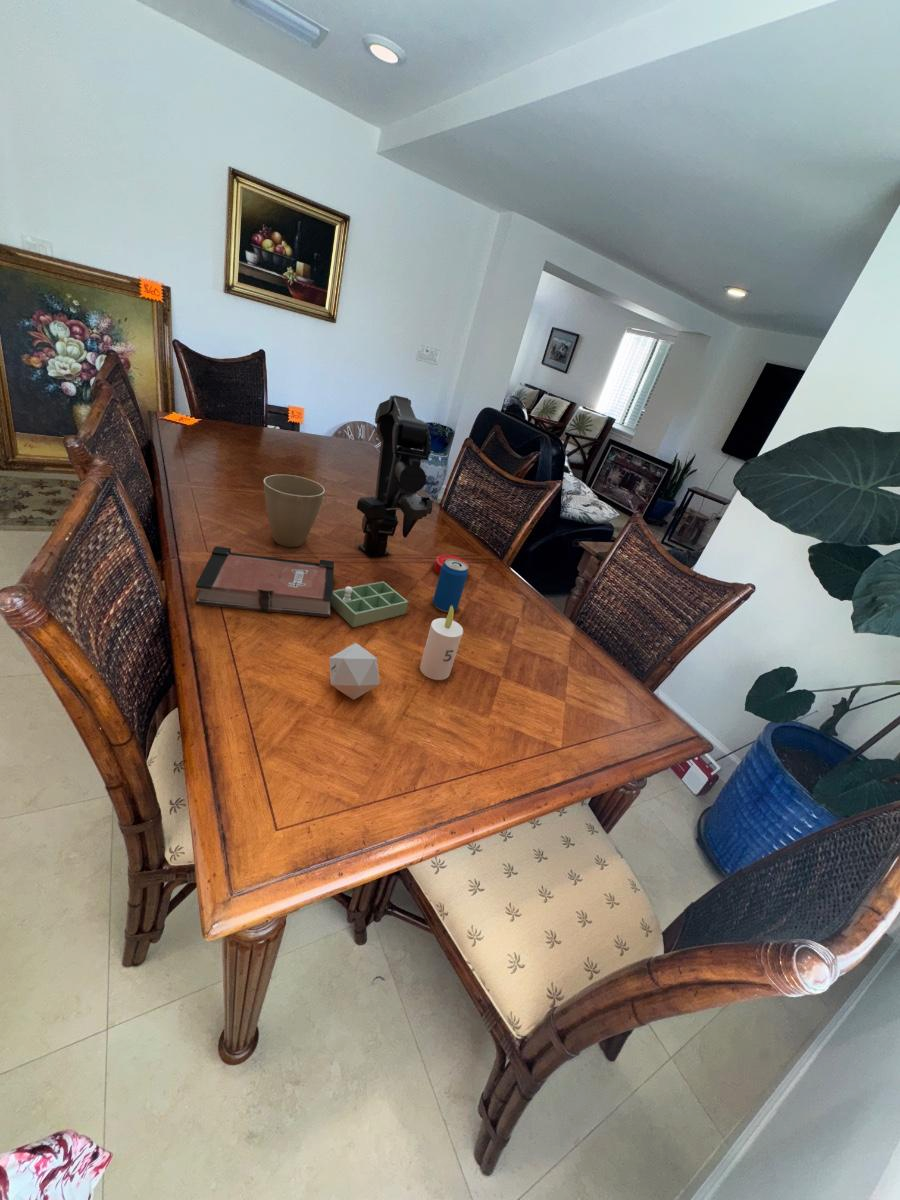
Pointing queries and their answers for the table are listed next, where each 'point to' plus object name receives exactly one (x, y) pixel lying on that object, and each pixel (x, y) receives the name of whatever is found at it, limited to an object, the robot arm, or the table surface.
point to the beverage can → (450, 585)
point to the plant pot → (291, 507)
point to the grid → (369, 603)
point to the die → (354, 671)
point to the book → (266, 584)
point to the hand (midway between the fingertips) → (389, 538)
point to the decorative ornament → (441, 561)
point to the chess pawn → (347, 593)
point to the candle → (441, 647)
